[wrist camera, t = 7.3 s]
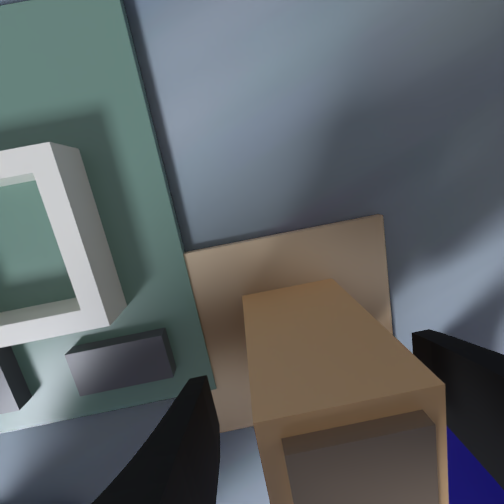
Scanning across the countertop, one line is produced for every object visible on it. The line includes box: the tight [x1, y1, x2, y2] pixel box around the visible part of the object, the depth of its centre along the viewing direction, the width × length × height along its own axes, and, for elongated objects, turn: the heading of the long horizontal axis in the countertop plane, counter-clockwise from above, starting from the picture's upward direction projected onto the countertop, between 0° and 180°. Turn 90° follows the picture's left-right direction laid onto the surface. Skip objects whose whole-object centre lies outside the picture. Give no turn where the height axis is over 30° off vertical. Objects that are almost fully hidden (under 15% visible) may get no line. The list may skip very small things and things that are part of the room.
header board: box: [0, 0, 217, 434], centre depth 11 cm, size 16×12×2 cm
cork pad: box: [183, 214, 393, 433], centre depth 13 cm, size 9×9×1 cm
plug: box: [242, 278, 449, 504], centre depth 10 cm, size 4×4×7 cm
